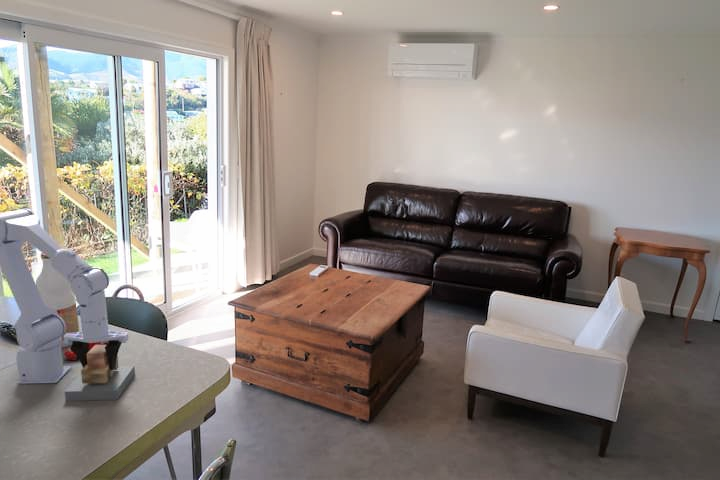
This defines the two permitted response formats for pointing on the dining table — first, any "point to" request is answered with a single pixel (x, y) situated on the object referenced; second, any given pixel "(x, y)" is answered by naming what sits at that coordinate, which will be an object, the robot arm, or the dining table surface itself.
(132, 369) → the dock
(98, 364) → the salmon pink block
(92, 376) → the tan boxy piece
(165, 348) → the dining table surface
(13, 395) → the dining table surface
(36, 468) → the dining table surface
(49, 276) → the fruit juice
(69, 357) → the race car
